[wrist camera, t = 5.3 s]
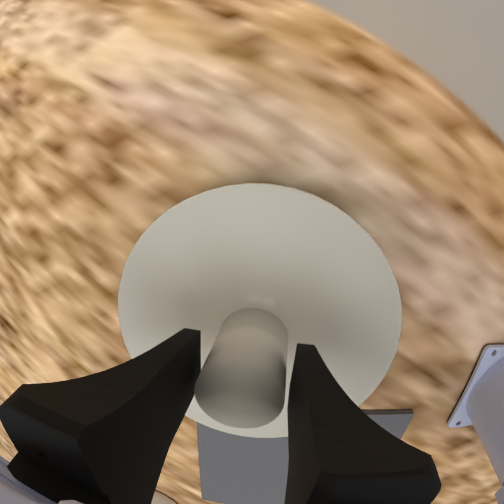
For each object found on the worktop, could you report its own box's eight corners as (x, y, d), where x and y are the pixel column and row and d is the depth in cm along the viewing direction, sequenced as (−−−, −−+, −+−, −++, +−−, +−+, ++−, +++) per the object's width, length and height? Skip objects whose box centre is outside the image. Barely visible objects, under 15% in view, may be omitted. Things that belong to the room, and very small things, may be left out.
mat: (412, 409, 20) (413, 413, 19) (353, 508, 24) (354, 511, 24) (197, 392, 21) (195, 397, 21) (203, 495, 26) (202, 499, 25)
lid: (423, 206, 12) (484, 230, 7) (355, 434, 16) (364, 501, 11) (127, 172, 13) (55, 180, 9) (137, 399, 17) (101, 456, 12)
